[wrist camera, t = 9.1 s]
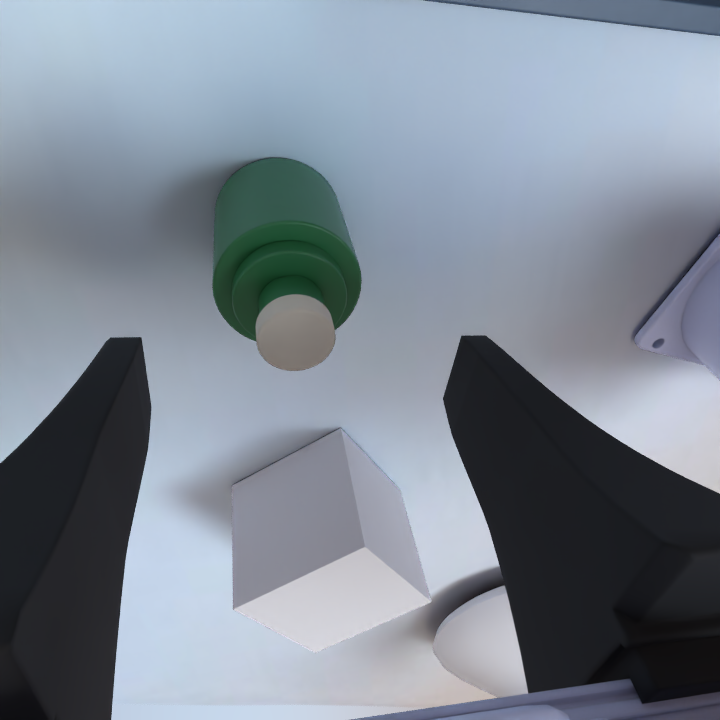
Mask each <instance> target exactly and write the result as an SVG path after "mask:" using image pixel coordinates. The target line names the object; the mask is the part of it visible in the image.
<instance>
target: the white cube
mask: <svg viewBox="0 0 720 720" xmlns="http://www.w3.org/2000/svg"><path fill="white" fill-rule="evenodd" d="M232 557H233V610H235V611H237V612H239V613H241V614H243V615H244V616H246V617H248V618H250V619H252V620H254V621H256V622H258V623H260V624H261V625H263V626H265V627H267V628H269V629H271V630H273V631H275V632H276V633H278V634H280V635H282V636H284V637H286V638H288V639H290V640H292V641H293V642H295V643H297V644H299V645H301V646H303V647H305V648H307V649H309V650H310V651H312V652H314V653H317V652H319V651H322V650H324V649H326V648H328V647H331V646H333V645H335V644H337V643H340V642H342V641H344V640H347V639H349V638H351V637H353V636H356V635H358V634H360V633H363V632H365V631H367V630H369V629H372V628H374V627H376V626H378V625H381V624H383V623H385V622H388V621H390V620H392V619H394V618H397V617H399V616H401V615H403V614H406V613H408V612H410V611H413V610H415V609H417V608H419V607H422V606H424V605H426V604H429V603H431V602H432V601H431V598H430V594H429V591H428V587H427V583H426V580H425V576H424V573H423V569H422V566H421V562H420V558H419V555H418V551H417V548H416V544H415V541H414V537H413V533H412V530H411V526H410V523H409V519H408V516H407V512H406V508H405V505H404V501H403V498H402V494H401V491H400V489H399V488H398V487H397V486H396V485H395V484H394V483H393V482H392V481H391V480H390V479H389V478H388V477H387V476H386V475H385V474H384V473H383V471H382V470H381V469H380V468H379V467H378V466H377V465H376V464H375V463H374V462H373V461H372V460H371V459H370V458H369V457H368V456H367V455H366V454H365V453H364V452H363V451H362V450H361V449H360V447H359V446H358V445H357V444H356V443H355V442H354V441H353V440H352V439H351V438H350V437H349V436H348V435H347V434H346V433H345V432H344V431H343V430H342V429H341V428H340V429H338V430H336V431H334V432H332V433H330V434H328V435H327V436H325V437H323V438H321V439H319V440H317V441H315V442H313V443H311V444H310V445H308V446H306V447H304V448H302V449H300V450H298V451H296V452H294V453H293V454H291V455H289V456H287V457H285V458H283V459H281V460H279V461H277V462H276V463H274V464H272V465H270V466H268V467H266V468H264V469H262V470H261V471H259V472H257V473H255V474H253V475H251V476H249V477H247V478H245V479H244V480H242V481H240V482H238V483H236V484H234V485H232Z"/></svg>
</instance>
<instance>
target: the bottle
mask: <svg viewBox="0 0 720 720" xmlns="http://www.w3.org/2000/svg"><path fill="white" fill-rule="evenodd" d="M361 281H362V280H361V271H360V267H359V263H358V260H357V257H356V254H355V251H354V248H353V245H352V242H351V239H350V236H349V233H348V230H347V227H346V224H345V221H344V218H343V215H342V212H341V209H340V206H339V203H338V200H337V198H336V195H335V193H334V191H333V189H332V187H331V186H330V184H329V183H328V182H327V180H326V179H325V178H324V177H323V176H322V175H321V174H320V173H318V172H317V171H316V170H314V169H313V168H311V167H309V166H308V165H306V164H303V163H301V162H298V161H295V160H291V159H284V158H270V159H263V160H259V161H256V162H253V163H251V164H248V165H246V166H244V167H243V168H241V169H239V170H238V171H237V172H236V173H234V174H233V175H232V176H231V177H230V178H229V179H228V180H227V182H226V183H225V184H224V186H223V187H222V189H221V191H220V193H219V195H218V198H217V201H216V206H215V220H214V252H213V283H212V288H213V296H214V299H215V303H216V305H217V307H218V310H219V312H220V313H221V315H222V316H223V318H224V319H225V320H226V321H227V322H228V324H229V325H230V326H231V327H233V328H234V329H235V330H236V331H237V332H239V333H240V334H242V335H243V336H245V337H247V338H249V339H251V340H254V341H256V342H257V348H258V351H259V353H260V354H261V356H262V357H263V358H264V359H265V360H266V361H267V362H268V363H269V364H271V365H272V366H274V367H276V368H279V369H283V370H288V371H299V370H305V369H309V368H311V367H314V366H316V365H318V364H319V363H321V362H322V361H323V360H325V359H326V358H327V357H328V355H329V354H330V353H331V351H332V349H333V347H334V344H335V338H336V335H335V330H336V329H337V328H338V327H340V326H341V325H342V324H343V323H344V322H345V321H346V320H347V318H348V317H349V316H350V314H351V313H352V311H353V310H354V308H355V306H356V304H357V301H358V298H359V295H360V291H361Z"/></svg>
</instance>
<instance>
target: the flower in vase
mask: <svg viewBox="0 0 720 720" xmlns="http://www.w3.org/2000/svg"><path fill="white" fill-rule="evenodd" d="M433 651H434V654H435V656H436V657H437V659H438V660H439V661H440V663H441V664H442V666H443V667H444V668H445V669H446V670H447V671H449V672H450V673H452V674H453V675H455V676H456V677H458V678H459V679H461V680H463V681H465V682H467V683H469V684H471V685H473V686H475V687H477V688H479V689H481V690H483V691H485V692H487V693H490V694H492V695H494V696H496V697H498V698H501V697H508V696H515V695H521V694H528V689H527V684H526V679H525V674H524V669H523V663H522V658H521V653H520V648H519V644H518V639H517V635H516V630H515V626H514V621H513V617H512V613H511V608H510V604H509V600H508V596H507V592H506V588H505V585H504V586H501V587H498V588H495V589H492V590H490V591H488V592H485V593H483V594H481V595H479V596H477V597H475V598H473V599H471V600H470V601H468V602H466V603H465V604H463V605H462V606H460V607H459V608H457V609H456V610H455V611H453V612H452V613H451V614H450V615H449V616H448V617H447V618H446V619H445V620H444V621H443V622H442V623H441V625H440V626H439V628H438V630H437V633H436V636H435V640H434V643H433Z"/></svg>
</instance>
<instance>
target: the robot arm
mask: <svg viewBox="0 0 720 720" xmlns="http://www.w3.org/2000/svg"><path fill="white" fill-rule="evenodd" d="M634 341H635V343H636V345H637V346H638V347H639V348H640V349H643V350H647V351H650V352H654V353H658V354H662V355H666V356H670V357H674V358H678V359H682V360H685V361H689V362H693V363H697V364H701V365H705V366H706V367H707V368H708V369H709V370H710V371H711V372H712V373H713V374H714V375H715V376H716V377H717V378H718V379H719V380H720V234H719V235H718V236H717V237H716V239H715V240H714V241H713V242H712V244H711V245H710V246H709V247H708V248H707V250H706V251H705V252H704V253H703V254H702V256H701V257H700V258H699V259H698V261H697V262H696V263H695V264H694V265H693V267H692V268H691V269H690V270H689V271H688V273H687V274H686V275H685V276H684V277H683V279H682V280H681V281H680V282H679V284H678V285H677V286H676V287H675V288H674V290H673V291H672V292H671V293H670V294H669V296H668V297H667V298H666V299H665V300H664V302H663V303H662V304H661V305H660V307H659V308H658V309H657V310H656V311H655V313H654V314H653V315H652V316H651V317H650V319H649V320H648V321H647V322H646V323H645V325H644V326H643V327H642V328H641V330H640V331H639V332H638V333H637V335H636V336H635V340H634ZM443 400H444V405H445V409H446V413H447V418H448V422H449V425H450V429H451V433H452V436H453V439H454V441H455V444H456V447H457V449H458V452H459V454H460V457H461V459H462V462H463V464H464V467H465V469H466V471H467V474H468V476H469V479H470V481H471V484H472V486H473V489H474V491H475V493H476V496H477V498H478V501H479V503H480V506H481V508H482V511H483V513H484V516H485V519H486V521H487V524H488V527H489V530H490V533H491V537H492V540H493V544H494V547H495V551H496V554H497V558H498V561H499V565H500V569H501V573H502V576H503V580H504V584H505V588H506V592H507V596H508V600H509V604H510V608H511V613H512V617H513V621H514V626H515V630H516V635H517V639H518V644H519V648H520V653H521V658H522V663H523V669H524V674H525V679H526V684H527V689H528V694H521V695H515V696H508V697H501V698H494V699H487V700H481V701H474V702H467V703H460V704H453V705H446V706H440V707H433V708H426V709H419V710H412V711H406V712H399V713H392V714H385V715H378V716H372V717H365V718H358V719H351V720H720V494H719V493H717V492H715V491H713V490H710V489H708V488H706V487H704V486H702V485H700V484H698V483H696V482H693V481H691V480H689V479H687V478H685V477H683V476H681V475H679V474H677V473H675V472H673V471H671V470H669V469H667V468H665V467H664V466H662V465H660V464H658V463H656V462H655V461H653V460H651V459H649V458H647V457H646V456H644V455H642V454H640V453H638V452H637V451H635V450H633V449H632V448H630V447H628V446H627V445H625V444H623V443H622V442H620V441H619V440H617V439H616V438H614V437H613V436H611V435H610V434H608V433H607V432H605V431H604V430H602V429H600V428H599V427H597V426H596V425H595V424H593V423H592V422H590V421H589V420H588V419H586V418H585V417H583V416H582V415H581V414H579V413H578V412H577V411H576V410H574V409H573V408H572V407H570V406H569V405H568V404H566V403H565V402H564V401H562V400H561V399H560V398H559V397H557V396H556V395H555V394H554V393H552V392H551V391H550V390H549V389H548V388H546V387H545V386H544V385H543V384H542V383H541V382H539V381H538V380H537V379H536V378H535V377H533V376H532V375H531V374H530V373H529V372H528V371H527V370H525V369H524V368H523V367H522V366H521V365H520V364H519V363H517V362H516V361H515V360H514V359H513V358H512V357H511V356H509V355H508V354H507V353H506V352H505V351H504V350H503V349H501V348H500V347H499V346H498V345H497V344H496V343H494V342H493V341H492V340H491V339H489V338H488V337H487V336H461V339H460V343H459V346H458V350H457V353H456V356H455V360H454V363H453V367H452V370H451V373H450V377H449V380H448V384H447V387H446V390H445V394H444V397H443ZM150 419H151V401H150V394H149V387H148V380H147V373H146V366H145V359H144V352H143V346H142V339H141V337H124V338H110V339H109V340H107V341H106V342H105V344H104V345H103V347H102V348H101V350H100V351H99V352H98V354H97V355H96V357H95V358H94V359H93V361H92V362H91V363H90V365H89V366H88V368H87V369H86V370H85V371H84V373H83V374H82V375H81V377H80V378H79V379H78V381H77V382H76V383H75V384H74V385H73V387H72V388H71V389H70V390H69V392H68V393H67V394H66V395H65V396H64V398H63V399H62V400H61V401H60V402H59V404H58V405H57V406H56V407H55V408H54V409H53V411H52V412H51V413H50V414H49V415H48V416H47V417H46V418H45V419H44V420H43V421H42V422H41V424H40V425H39V426H38V427H37V428H36V429H35V430H34V431H33V432H32V433H31V434H30V435H29V436H28V437H27V438H26V439H25V440H24V441H23V442H22V443H21V444H20V445H19V446H18V447H17V448H16V449H15V450H14V451H13V452H12V453H11V454H10V455H9V456H8V457H7V458H6V459H5V460H4V461H2V462H1V463H0V720H111V714H112V713H111V712H112V699H113V686H114V674H115V662H116V649H117V638H118V627H119V617H120V606H121V596H122V587H123V577H124V568H125V559H126V553H127V547H128V541H129V536H130V531H131V526H132V522H133V517H134V512H135V508H136V503H137V498H138V494H139V489H140V484H141V480H142V475H143V470H144V466H145V461H146V456H147V451H148V443H149V432H150Z"/></svg>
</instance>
